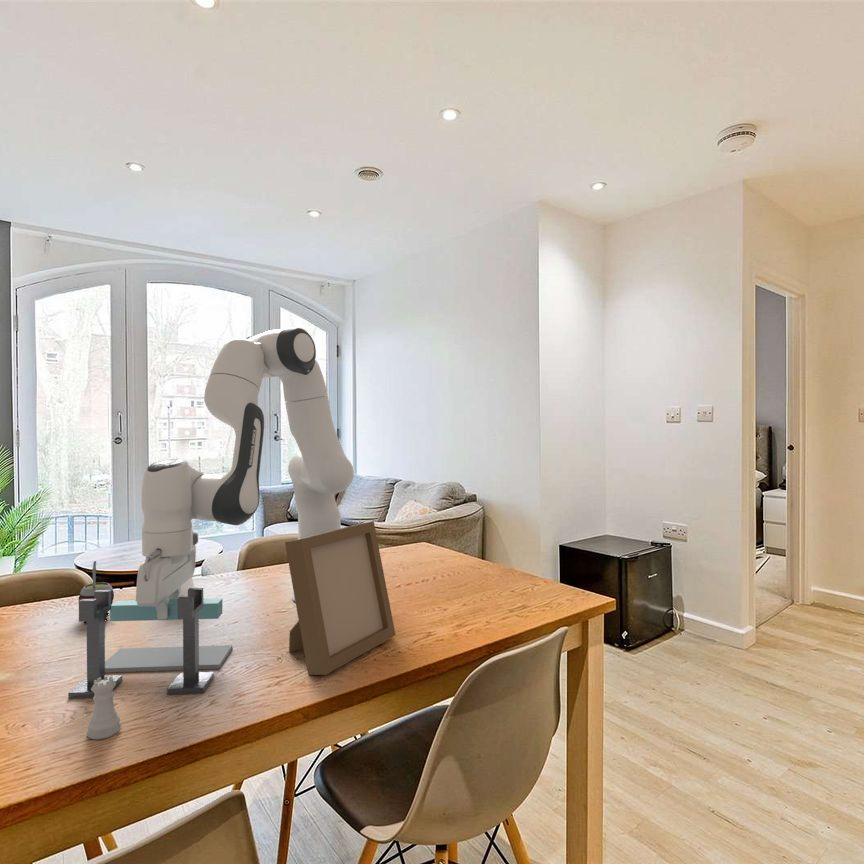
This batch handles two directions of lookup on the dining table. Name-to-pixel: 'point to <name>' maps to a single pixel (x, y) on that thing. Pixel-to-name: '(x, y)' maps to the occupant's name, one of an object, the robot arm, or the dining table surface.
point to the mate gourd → (89, 589)
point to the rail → (133, 612)
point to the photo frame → (338, 596)
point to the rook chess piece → (103, 710)
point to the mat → (164, 658)
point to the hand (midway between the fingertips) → (167, 614)
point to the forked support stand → (183, 683)
